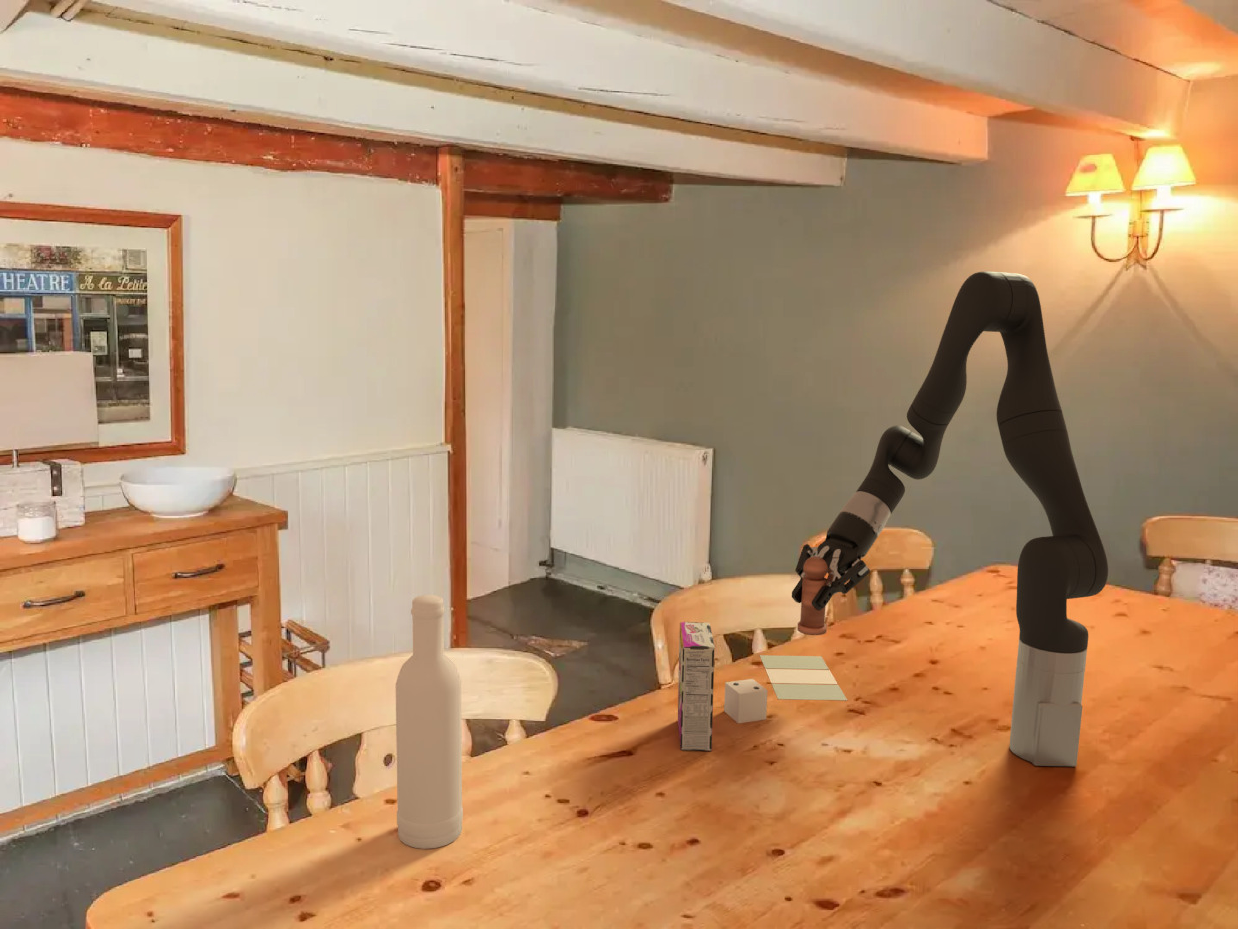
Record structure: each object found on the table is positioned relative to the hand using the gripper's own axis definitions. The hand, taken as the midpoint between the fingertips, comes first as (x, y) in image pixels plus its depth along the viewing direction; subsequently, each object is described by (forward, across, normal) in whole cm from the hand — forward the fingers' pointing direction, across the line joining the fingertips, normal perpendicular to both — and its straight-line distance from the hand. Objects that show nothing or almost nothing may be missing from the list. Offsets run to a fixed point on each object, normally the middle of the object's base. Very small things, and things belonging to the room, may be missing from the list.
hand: (805, 603), depth 163 cm
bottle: (+61, +5, -38) cm, 72 cm away
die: (+21, 0, +3) cm, 21 cm away
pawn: (+2, 0, +5) cm, 5 cm away
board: (+8, -6, +16) cm, 19 cm away
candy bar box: (+29, +2, -6) cm, 30 cm away
